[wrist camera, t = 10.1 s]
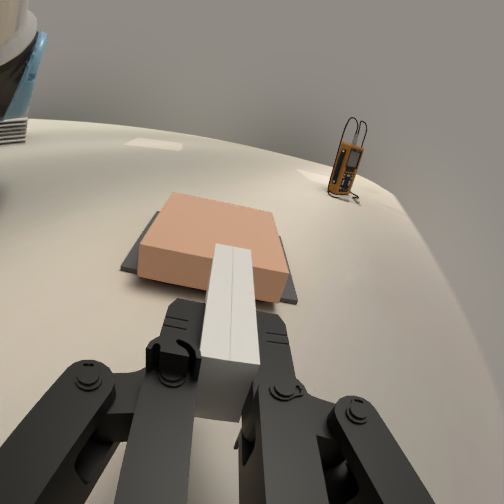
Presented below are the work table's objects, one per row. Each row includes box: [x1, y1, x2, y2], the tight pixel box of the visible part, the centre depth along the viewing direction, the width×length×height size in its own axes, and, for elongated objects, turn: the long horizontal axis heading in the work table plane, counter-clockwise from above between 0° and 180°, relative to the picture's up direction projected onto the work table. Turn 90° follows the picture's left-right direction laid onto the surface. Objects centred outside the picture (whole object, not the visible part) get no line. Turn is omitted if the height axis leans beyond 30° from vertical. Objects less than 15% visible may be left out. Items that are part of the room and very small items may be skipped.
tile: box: [137, 192, 289, 303], centre depth 31 cm, size 3×12×14 cm
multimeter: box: [328, 117, 367, 205], centre depth 71 cm, size 15×10×20 cm
